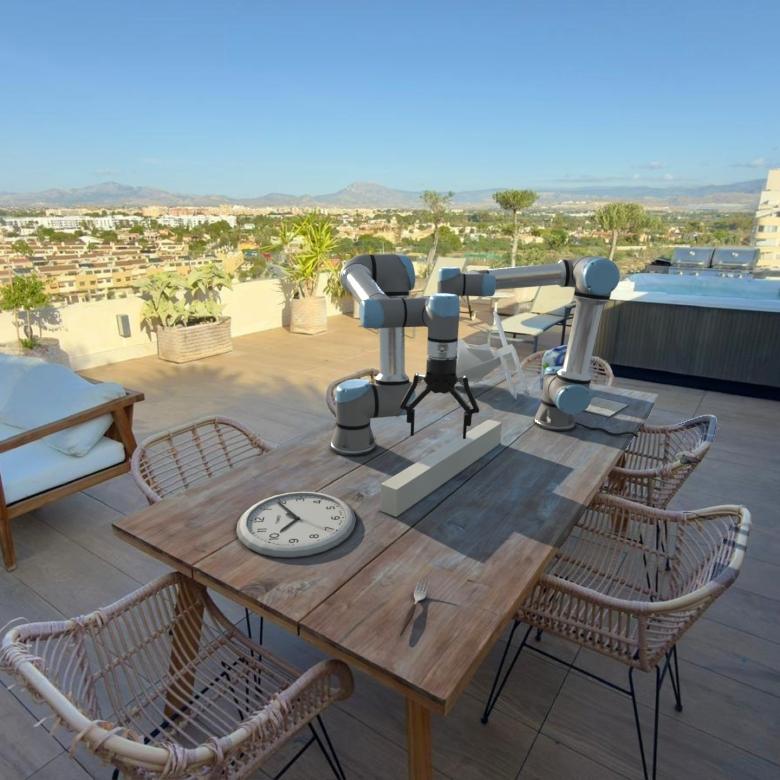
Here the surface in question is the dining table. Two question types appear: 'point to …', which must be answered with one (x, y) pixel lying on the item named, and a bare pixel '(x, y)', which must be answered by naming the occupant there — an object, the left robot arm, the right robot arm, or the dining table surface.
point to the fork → (418, 596)
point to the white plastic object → (488, 360)
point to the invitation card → (604, 406)
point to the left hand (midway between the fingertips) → (438, 435)
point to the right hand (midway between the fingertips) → (444, 372)
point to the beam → (438, 468)
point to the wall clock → (296, 524)
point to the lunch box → (552, 360)
